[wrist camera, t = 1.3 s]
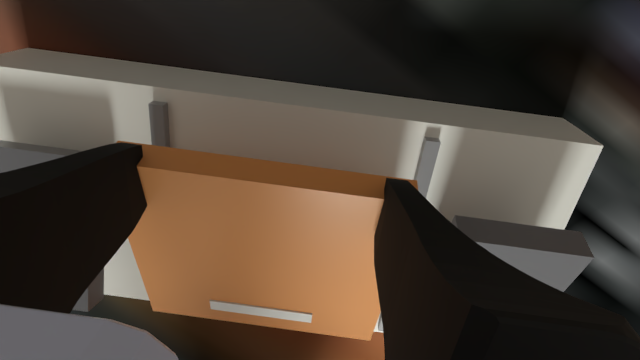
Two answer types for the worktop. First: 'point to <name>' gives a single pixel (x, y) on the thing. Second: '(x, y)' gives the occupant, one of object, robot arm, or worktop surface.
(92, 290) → the charcoal rocker off
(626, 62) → the worktop surface
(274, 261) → the orange slotted panel
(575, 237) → the grey flat block
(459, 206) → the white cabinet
